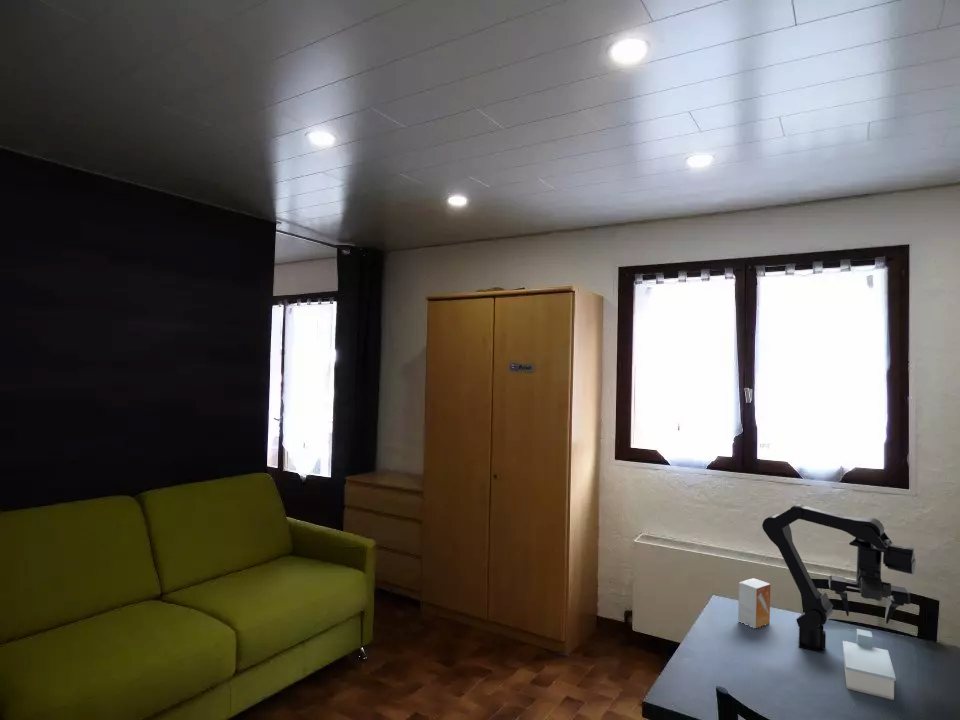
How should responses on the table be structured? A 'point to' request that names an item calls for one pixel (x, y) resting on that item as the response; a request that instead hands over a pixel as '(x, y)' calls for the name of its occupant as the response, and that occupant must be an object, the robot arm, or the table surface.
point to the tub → (869, 684)
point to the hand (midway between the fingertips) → (866, 619)
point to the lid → (867, 657)
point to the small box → (754, 602)
